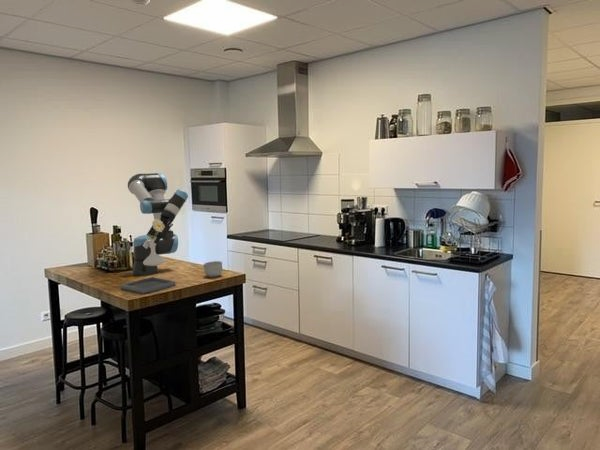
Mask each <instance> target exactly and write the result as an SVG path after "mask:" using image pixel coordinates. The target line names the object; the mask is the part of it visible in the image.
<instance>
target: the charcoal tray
mask: <svg viewBox="0 0 600 450" xmlns="http://www.w3.org/2000/svg"><path fill="white" fill-rule="evenodd" d="M172 287H176V281H175V280H170V279H165V278H159V277H154V276H150V277H147V278H143V279H139V280H134V281H130V282H126V283H122V284H120V290H122V291H123V290H124V291H127V290H128V292H131V291H133V292H132V293H136V292H137V293H136V294H140V293H141V295H146V294H147V295H148V294H150V293H154V292H158V291H161V290H166V289H169V288H172Z"/></svg>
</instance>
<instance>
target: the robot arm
mask: <svg viewBox="0 0 600 450" xmlns="http://www.w3.org/2000/svg"><path fill="white" fill-rule="evenodd" d="M127 188H128V191H129V192H130V193H131V194H133V195H134V196H135V197H136V199H137V200H138V202H139V203H140V204H139V209H140V212H141V213H142V214H145V215H146V214H147V215H151V214H152V215H153V221H154V220H155V219H159V220H161V222H163V224H164V226H165V227H164V229H163V230H162V232H158V231H156V230H155V229H154V228H153V225H151V227H150V229H149V230H148V232H147V233H146V234H144V235H139V236H136V237H134V239H133V243H132V245H133V257H134V259H133V260H134V262H133V268H132V271H131V273H132V275H133V276H135V277H141V276H142V277H143V276H144V277H145V276H146V277H147V276H152V275H156V274H158V273H159V268H158V265H156V266H147V265H144V264H143V261H144V260H145V259H146V258H147V257H148V256H149V255H150V254H151V249H154V247H155V252H156V254H157V255H159V256H161V255H170V254H174V253H176V252H177V251H178V247H179V238H178V235H177V234H176V233H175V232H174V231H173V230H172V229H171V228H172V227H173V226H174V224H173V223H174V220H176V217H177V215H178V213H179V212H180V211H181V208H182V207H183V206H184V204H185V203H186V201H187V199H188V198H189V195H188V193H187V192H186V191H185V190H184V189H182V188H181V189H179V188H178V189H176V191H175V192H174V194H173V195H172V196H171V198H168V199H165V194H166V191H167V190H168V181H167V178H166V176H165V175H164V174H163V173H161V172H159V173H158V172H153V173H137V174H134V175H132V176H131V177H130V178H129V179H128V182H127ZM155 232H156V233H158V235H155ZM148 234H149V235H152V236H154V235H155V237H154V239H153V237H149V236H148ZM151 239H153V241H152V243H151V244H149V242H148V241H147V240H151Z"/></svg>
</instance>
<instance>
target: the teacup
mask: <svg viewBox="0 0 600 450" xmlns="http://www.w3.org/2000/svg"><path fill="white" fill-rule="evenodd" d="M203 269H204V274H205V275H206V276H207V277H209V278H215V277H216V278H217V277H219V276H221V274H222V273H223V262H222V261H221V260H220V261H219V260H214V261H209V262H204V263H203Z"/></svg>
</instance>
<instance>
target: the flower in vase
mask: <svg viewBox="0 0 600 450" xmlns="http://www.w3.org/2000/svg"><path fill="white" fill-rule="evenodd" d="M152 225H153V228H154V229H155V230H156V231H158V232H162V230H163V229H164V227H165V226H164V224H163V222H161V220H159V219H155V220H154V219H153V221H152ZM152 225H151V226H152ZM155 235H158V233H156V232H155ZM155 235H154V236H152V235H149V234H148V236H149V237H153V239H154V237H155ZM153 239H151V240H147V241H148V242H149V244H151V243H152V241H153ZM164 263H165V259H164V257H162V256H161V255H157V254H156V252H155V247H154V249H151V254H150V255H149V256H148V257H147V258H146V259H145V260H144V261H143V264H144V265H147V266H156V265H157V266H160V265H163V264H164Z"/></svg>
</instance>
